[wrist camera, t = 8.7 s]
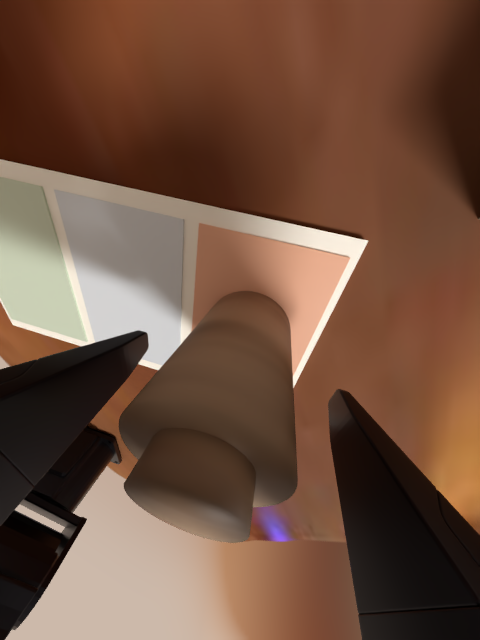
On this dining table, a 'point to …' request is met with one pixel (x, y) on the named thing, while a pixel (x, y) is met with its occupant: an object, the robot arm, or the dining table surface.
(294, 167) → the dining table surface
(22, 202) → the game board
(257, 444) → the walnut pawn
